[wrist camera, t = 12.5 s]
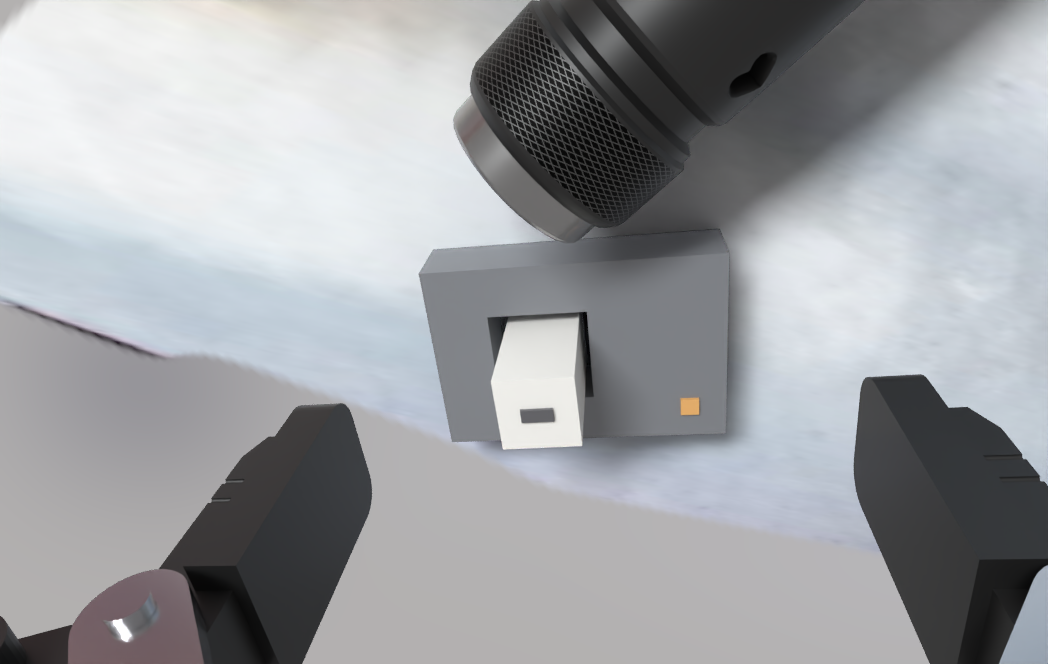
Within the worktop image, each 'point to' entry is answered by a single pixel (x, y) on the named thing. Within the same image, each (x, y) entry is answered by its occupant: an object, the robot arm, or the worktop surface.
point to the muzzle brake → (620, 96)
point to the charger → (541, 381)
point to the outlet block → (591, 327)
